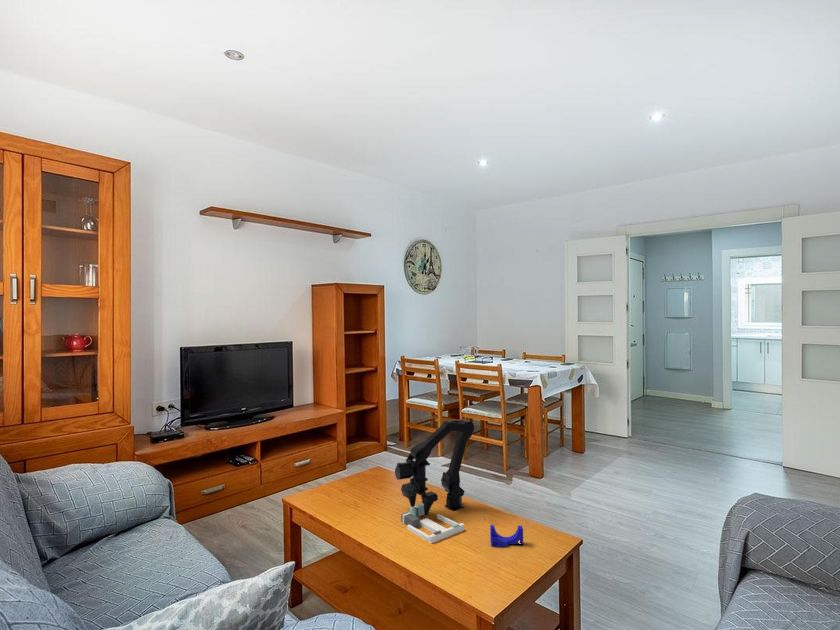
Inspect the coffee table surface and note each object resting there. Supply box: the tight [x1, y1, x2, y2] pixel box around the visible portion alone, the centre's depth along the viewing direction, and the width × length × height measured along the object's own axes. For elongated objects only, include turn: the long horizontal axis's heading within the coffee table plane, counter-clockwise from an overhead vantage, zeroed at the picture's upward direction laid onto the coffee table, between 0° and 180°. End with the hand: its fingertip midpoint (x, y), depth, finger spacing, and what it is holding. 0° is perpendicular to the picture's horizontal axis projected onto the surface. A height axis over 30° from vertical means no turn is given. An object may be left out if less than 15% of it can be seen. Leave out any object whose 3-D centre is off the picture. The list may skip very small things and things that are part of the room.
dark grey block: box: [400, 511, 421, 529], centre depth 195 cm, size 4×8×4 cm, turn 38°
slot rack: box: [406, 513, 465, 544], centre depth 190 cm, size 17×15×3 cm
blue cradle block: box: [489, 524, 524, 548], centre depth 179 cm, size 12×4×6 cm, turn 86°
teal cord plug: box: [408, 502, 430, 518], centre depth 205 cm, size 4×8×4 cm, turn 128°
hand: (419, 511), depth 205 cm, fingers open, 9 cm apart
